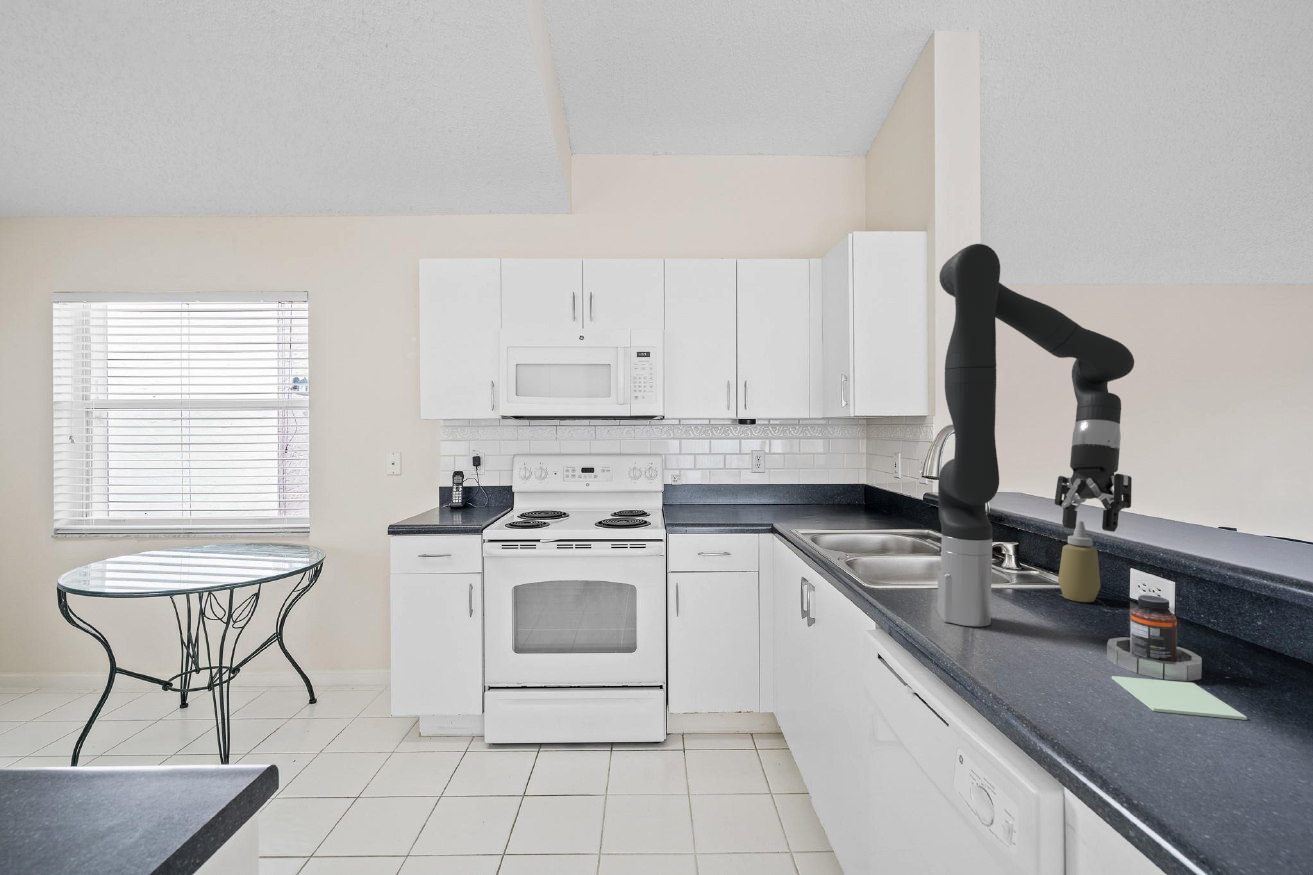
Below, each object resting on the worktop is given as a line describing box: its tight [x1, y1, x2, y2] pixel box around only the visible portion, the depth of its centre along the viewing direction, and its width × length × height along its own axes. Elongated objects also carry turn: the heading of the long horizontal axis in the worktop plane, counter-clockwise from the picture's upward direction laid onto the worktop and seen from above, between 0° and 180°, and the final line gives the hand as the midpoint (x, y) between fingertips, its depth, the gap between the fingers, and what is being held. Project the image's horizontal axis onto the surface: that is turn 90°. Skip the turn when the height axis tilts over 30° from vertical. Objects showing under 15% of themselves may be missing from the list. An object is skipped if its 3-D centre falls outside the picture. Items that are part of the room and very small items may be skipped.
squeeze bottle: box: [1057, 520, 1101, 603], centre depth 137 cm, size 8×8×18 cm
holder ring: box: [1106, 636, 1203, 682], centre depth 99 cm, size 12×12×2 cm
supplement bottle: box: [1130, 594, 1178, 662], centre depth 99 cm, size 6×6×11 cm
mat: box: [1111, 675, 1248, 721], centre depth 88 cm, size 11×11×1 cm
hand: (1088, 529), depth 113 cm, fingers open, 8 cm apart
